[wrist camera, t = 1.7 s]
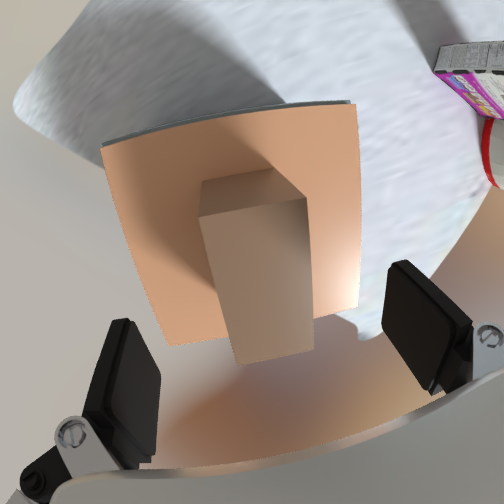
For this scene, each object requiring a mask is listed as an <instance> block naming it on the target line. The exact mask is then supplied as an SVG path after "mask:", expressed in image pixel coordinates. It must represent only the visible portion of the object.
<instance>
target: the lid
mask: <svg viewBox="0 0 504 504" xmlns="http://www.w3.org/2000/svg"><path fill="white" fill-rule="evenodd" d="M100 152H101V156H102V160H103V164H104V168H105V172H106V175H107V179H108V183H109V186H110V190H111V193H112V197H113V200H114V204H115V207H116V210H117V213H118V216H119V220H120V223H121V226H122V229H123V232H124V235H125V238H126V241H127V244H128V247H129V250H130V252H131V255H132V258H133V261H134V263H135V266H136V269H137V272H138V274H139V277H140V279H141V282H142V284H143V287H144V290H145V292H146V295H147V297H148V300H149V302H150V304H151V307H152V309H153V312H154V314H155V316H156V319H157V321H158V323H159V325H160V328H161V330H162V332H163V334H164V337H165V339H166V341H167V343H168V345H169V346H173V345H180V344H187V343H193V342H200V341H206V340H211V339H217V338H222V337H229V339H230V342H231V346H232V349H233V352H234V356H235V360H236V363H237V366H238V365H244V364H249V363H255V362H260V361H265V360H269V359H274V358H279V357H283V356H287V355H291V354H296V353H300V352H305V351H308V350H313V349H314V321H313V319H314V318H318V317H322V316H325V315H329V314H334V313H337V312H341V311H345V310H349V309H352V308H356V307H358V294H359V279H360V259H361V169H360V149H359V134H358V122H357V111H356V104H333V105H316V106H303V107H292V108H282V109H273V110H265V111H257V112H250V113H244V114H237V115H231V116H225V117H220V118H214V119H209V120H204V121H199V122H194V123H189V124H185V125H181V126H176V127H172V128H168V129H164V130H160V131H156V132H152V133H148V134H145V135H141V136H137V137H134V138H130V139H127V140H124V141H120V142H117V143H114V144H111V145H108V146H105V147H102V148H100Z"/></svg>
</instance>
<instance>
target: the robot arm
mask: <svg viewBox="0 0 504 504" xmlns="http://www.w3.org/2000/svg"><path fill="white" fill-rule="evenodd" d="M472 322H473V321H472V320H471V319H470V318H469V317H468V316H467V315H466V314H465V313H464V312H463V311H462V310H461V309H460V308H459V307H458V306H457V305H456V304H455V303H454V302H453V301H452V300H451V299H450V298H449V297H448V296H447V295H446V294H444V293H443V292H442V291H441V290H440V289H439V288H438V287H437V286H436V285H435V284H434V283H433V282H432V281H431V280H430V279H428V278H427V277H426V276H425V275H424V274H423V273H422V272H421V271H420V270H418V269H417V268H416V267H415V266H414V265H413V264H412V263H411V262H409V261H408V260H401V261H397V262H394V263H392V265H391V267H390V268H389V269H388V274H387V283H386V292H385V300H384V307H383V314H382V321H381V325H382V329H383V331H384V332H385V334H386V335H387V336H388V338H389V339H390V341H391V342H392V344H393V345H394V346H395V348H396V349H397V351H398V352H399V354H400V355H401V357H402V358H403V360H404V361H405V362H406V364H407V366H408V367H409V368H410V370H411V372H412V373H413V374H414V376H415V378H416V379H417V380H418V382H419V384H420V385H421V387H422V388H423V389H424V390H428V392H429V393H430V395H431V396H433V395H435V394H437V393H439V392H441V391H442V390H444V391H445V393H446V395H445V396H443V397H441V398H439V399H437V400H435V401H433V402H431V403H429V404H427V405H425V406H423V407H421V408H418V409H416V410H415V411H412V412H410V413H408V414H405V415H403V416H401V417H399V418H396V419H394V420H391V421H389V422H386V423H384V424H382V425H379V426H377V427H374V428H371V429H368V430H366V431H363V432H360V433H357V434H354V435H351V436H348V437H346V438H343V439H339V440H336V441H333V442H329V443H326V444H322V445H319V446H316V447H312V448H308V449H304V450H300V451H296V452H292V453H288V454H283V455H278V456H273V457H268V458H263V459H257V460H252V461H245V462H239V463H232V464H224V465H215V466H205V467H194V468H177V469H147V470H146V469H139V463H151V455H155V452H156V435H157V421H158V409H159V397H160V387H161V374H160V371H159V369H158V367H157V365H156V363H155V361H154V359H153V357H152V356H151V354H150V352H149V350H148V348H147V346H146V344H145V342H144V340H143V338H142V336H141V334H140V332H139V330H138V328H137V326H136V324H135V322H134V321H130V320H129V319H128V318H123V319H116V320H113V321H112V322H111V325H110V328H109V331H108V334H107V336H106V339H105V342H104V345H103V348H102V351H101V354H100V357H99V360H98V362H97V364H96V368H95V371H94V374H93V377H92V381H91V384H90V387H89V391H88V394H87V398H86V401H85V405H84V409H83V413H82V416H70V417H68V418H66V419H64V420H63V421H62V422H61V423H60V424H59V425H58V427H57V429H56V431H55V438H54V439H55V443H56V445H55V446H54V447H53V448H51V449H50V450H49V451H47V452H46V453H45V454H43V455H42V456H41V457H39V458H38V459H36V460H35V461H34V462H32V463H31V464H30V465H29V466H27V467H26V468H25V469H24V470H23V472H22V474H21V476H20V487H21V490H20V491H19V490H18V489H16V491H15V492H14V493H13V495H12V496H11V498H10V499H9V500H8V502H7V503H6V504H504V330H503V329H502V328H501V327H500V326H498V325H497V324H495V323H491V322H482V323H479V324H478V325H476V327H475V328H473V326H472ZM138 469H139V470H138Z"/></svg>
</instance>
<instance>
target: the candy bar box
mask: <svg viewBox="0 0 504 504" xmlns="http://www.w3.org/2000/svg"><path fill="white" fill-rule="evenodd" d="M433 73H434V74H435V75H436V76H437V77H439V78H440V79H441V80H442V81H444V82H445V83H446V84H447V85H448V86H450V87H451V88H452V89H453V90H454V91H455V92H457V93H458V94H459V95H460V96H461V97H462V98H463V99H464V100H465V101H466V102H467V103H468V104H470V105H471V106H472V107H473V108H474V109H475V110H476V111H477V112H478V113H479V114H480V115H481V116H482V117H489V118H494V119H498V120H504V41H492V42H475V43H461V44H453V45H444V46H440V49H439V53H438V58H437V62H436V65H435V68H434V72H433Z"/></svg>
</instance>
